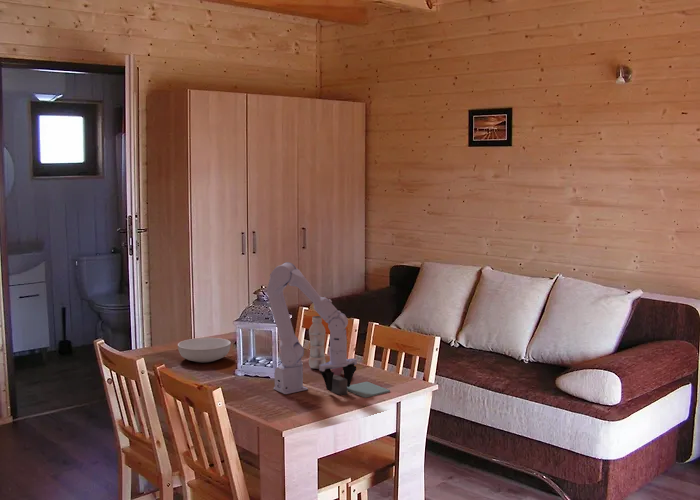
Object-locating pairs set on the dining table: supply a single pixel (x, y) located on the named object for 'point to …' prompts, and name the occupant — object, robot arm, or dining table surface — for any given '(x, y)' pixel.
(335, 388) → the connector plug
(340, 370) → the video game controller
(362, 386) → the rubber mat
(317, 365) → the plastic bottle
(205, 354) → the serving bowl
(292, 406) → the dining table surface
